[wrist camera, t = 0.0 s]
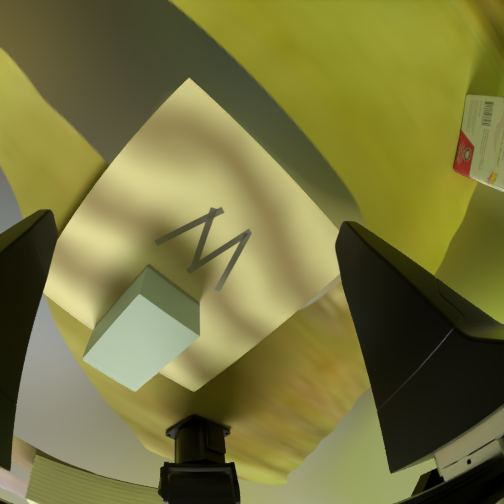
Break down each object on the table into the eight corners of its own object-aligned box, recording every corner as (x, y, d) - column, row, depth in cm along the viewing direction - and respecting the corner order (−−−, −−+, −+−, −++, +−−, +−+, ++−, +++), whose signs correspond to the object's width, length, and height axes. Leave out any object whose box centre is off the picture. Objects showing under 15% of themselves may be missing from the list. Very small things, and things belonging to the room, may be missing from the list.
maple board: (194, 382, 33) (194, 392, 31) (38, 275, 25) (32, 283, 23) (352, 248, 28) (359, 255, 27) (190, 79, 20) (189, 77, 19)
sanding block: (140, 357, 28) (135, 391, 24) (94, 326, 26) (81, 359, 22) (199, 302, 27) (200, 336, 22) (148, 263, 24) (139, 293, 20)
